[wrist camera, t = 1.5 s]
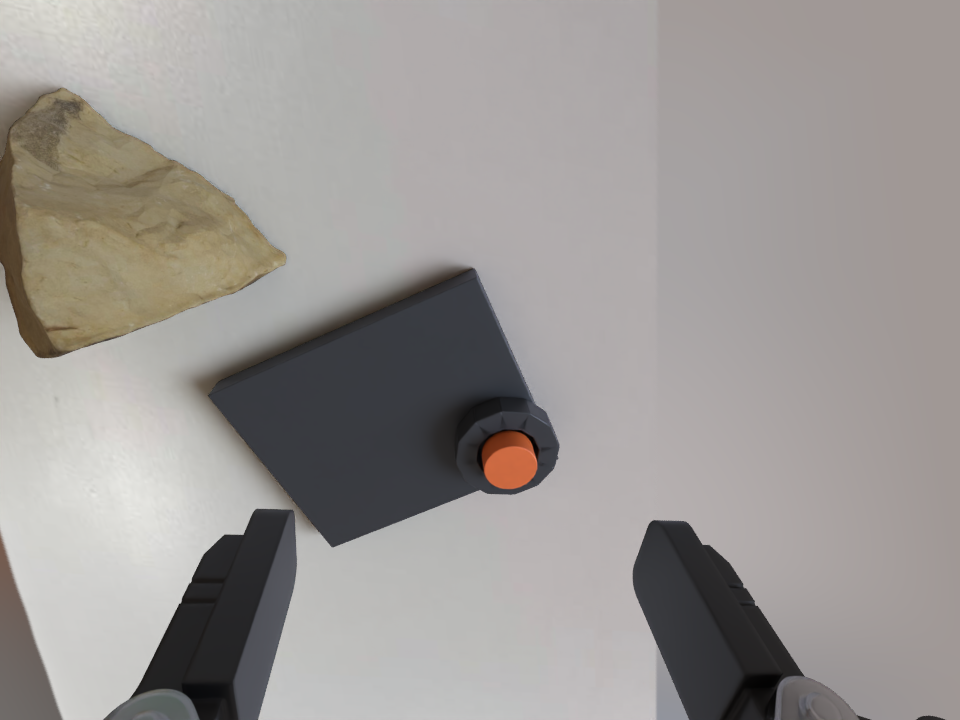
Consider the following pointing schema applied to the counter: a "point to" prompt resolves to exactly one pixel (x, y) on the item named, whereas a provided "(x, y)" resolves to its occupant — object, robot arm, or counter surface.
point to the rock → (111, 231)
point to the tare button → (509, 460)
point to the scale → (389, 411)
